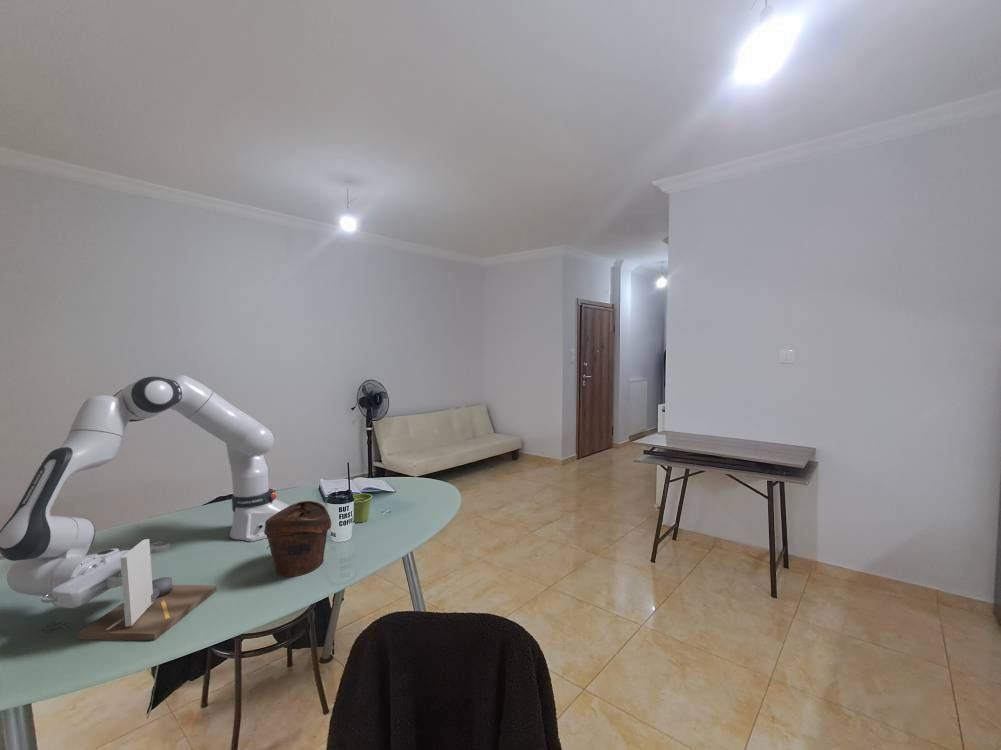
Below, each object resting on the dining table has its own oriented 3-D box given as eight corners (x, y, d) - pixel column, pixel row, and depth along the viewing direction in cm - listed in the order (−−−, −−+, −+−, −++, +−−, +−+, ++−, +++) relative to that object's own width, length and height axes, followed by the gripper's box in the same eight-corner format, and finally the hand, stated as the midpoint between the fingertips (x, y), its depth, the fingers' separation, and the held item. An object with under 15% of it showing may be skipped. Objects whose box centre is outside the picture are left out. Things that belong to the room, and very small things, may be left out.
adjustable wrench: (61, 576, 129) (61, 570, 129) (65, 568, 134) (64, 562, 134) (169, 550, 145) (168, 545, 144) (168, 544, 150) (168, 538, 149)
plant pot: (358, 527, 160) (357, 503, 160) (341, 522, 165) (340, 499, 165) (378, 518, 168) (377, 495, 167) (361, 513, 173) (360, 491, 172)
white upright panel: (153, 587, 117) (149, 528, 116) (175, 585, 119) (172, 526, 118) (115, 628, 100) (110, 559, 99) (141, 624, 102) (136, 556, 101)
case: (316, 544, 146) (313, 491, 145) (344, 565, 132) (341, 506, 130) (257, 564, 134) (253, 506, 132) (280, 590, 119) (276, 525, 118)
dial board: (151, 590, 120) (151, 584, 120) (216, 590, 119) (216, 585, 119) (77, 638, 100) (77, 632, 100) (155, 640, 99) (154, 633, 99)
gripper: (33, 587, 97) (93, 588, 96) (119, 545, 118) (169, 546, 117) (35, 614, 98) (95, 617, 97) (120, 568, 118) (170, 569, 117)
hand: (136, 578), depth 107 cm, fingers closed
